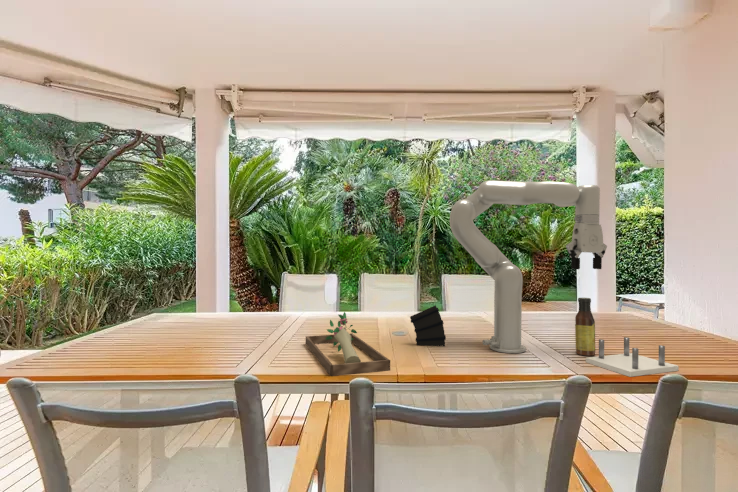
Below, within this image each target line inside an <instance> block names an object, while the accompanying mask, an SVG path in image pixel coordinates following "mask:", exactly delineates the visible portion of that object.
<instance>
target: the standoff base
mask: <svg viewBox="0 0 738 492" xmlns="http://www.w3.org/2000/svg"><path fill="white" fill-rule="evenodd" d="M631 349H632V350H631V352H630V337H628V336H624V337H623V353H618V354H611V355H610V354H609V355H605V339H601V338H600V339H598V355H597V356H587V357H585V363H587V364H590V365H593V366H596V367H599V368H602V369H605V370H609V371H611V372H613V373H616V374H620V375H623V376H626V377H629V378H631V377H639V376H648V375H655V374H663V373H672V372H679V365H677V364H673V363H669V362H666V346H665V345H658V359H655V358H651V357H647V356H644V355H639V348H638V347H632V348H631Z"/></svg>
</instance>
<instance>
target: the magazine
mask: <svg viewBox="0 0 738 492" xmlns="http://www.w3.org/2000/svg"><path fill="white" fill-rule="evenodd" d="M409 318H410V323H411V324H412V325H413V327H414V333H415V336H416V337H415V343H416V346H423V347H424V346H427V347H428V346H430V347H445V346H446V340H447V337H446V334H445V328H444V320H443V319H442V316H441V314H440V310H439V307H437V305H436V304H435V305H433V306H431V307H429V308H426V309H424V310H422V311H420V312H417V313H415V314H412V315H411V316H409Z"/></svg>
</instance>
